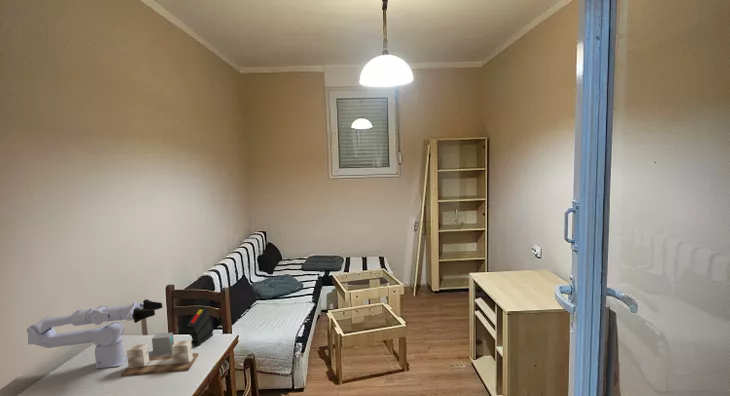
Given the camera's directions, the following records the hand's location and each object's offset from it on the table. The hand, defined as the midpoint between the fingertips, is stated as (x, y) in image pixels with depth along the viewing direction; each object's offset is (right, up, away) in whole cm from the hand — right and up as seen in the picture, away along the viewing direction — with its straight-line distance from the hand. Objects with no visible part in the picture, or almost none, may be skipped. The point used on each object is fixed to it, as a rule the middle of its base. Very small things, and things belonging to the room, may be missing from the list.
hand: (158, 308), depth 168 cm
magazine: (+12, -19, +16) cm, 27 cm away
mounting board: (+3, -22, -4) cm, 22 cm away
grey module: (-2, -21, +9) cm, 22 cm away
